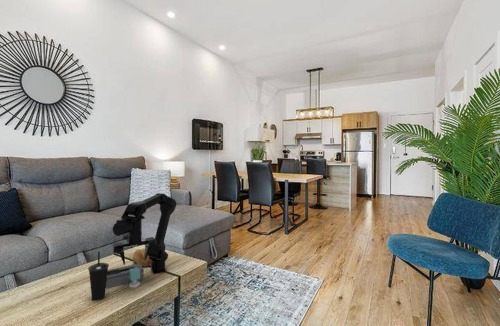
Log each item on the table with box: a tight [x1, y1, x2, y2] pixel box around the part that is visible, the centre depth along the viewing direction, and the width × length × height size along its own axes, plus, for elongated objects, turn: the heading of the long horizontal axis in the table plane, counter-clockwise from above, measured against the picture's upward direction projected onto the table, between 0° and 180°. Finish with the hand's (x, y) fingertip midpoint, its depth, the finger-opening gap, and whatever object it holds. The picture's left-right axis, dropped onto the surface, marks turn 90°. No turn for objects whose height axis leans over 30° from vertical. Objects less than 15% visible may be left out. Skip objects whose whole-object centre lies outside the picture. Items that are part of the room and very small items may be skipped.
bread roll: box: [132, 248, 152, 267], centre depth 145 cm, size 10×15×8 cm, turn 47°
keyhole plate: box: [106, 263, 145, 290], centre depth 125 cm, size 18×9×5 cm, turn 126°
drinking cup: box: [87, 251, 110, 302], centre depth 109 cm, size 8×8×20 cm
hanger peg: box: [128, 267, 141, 289], centre depth 120 cm, size 4×4×8 cm
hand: (134, 262), depth 120 cm, fingers open, 9 cm apart
